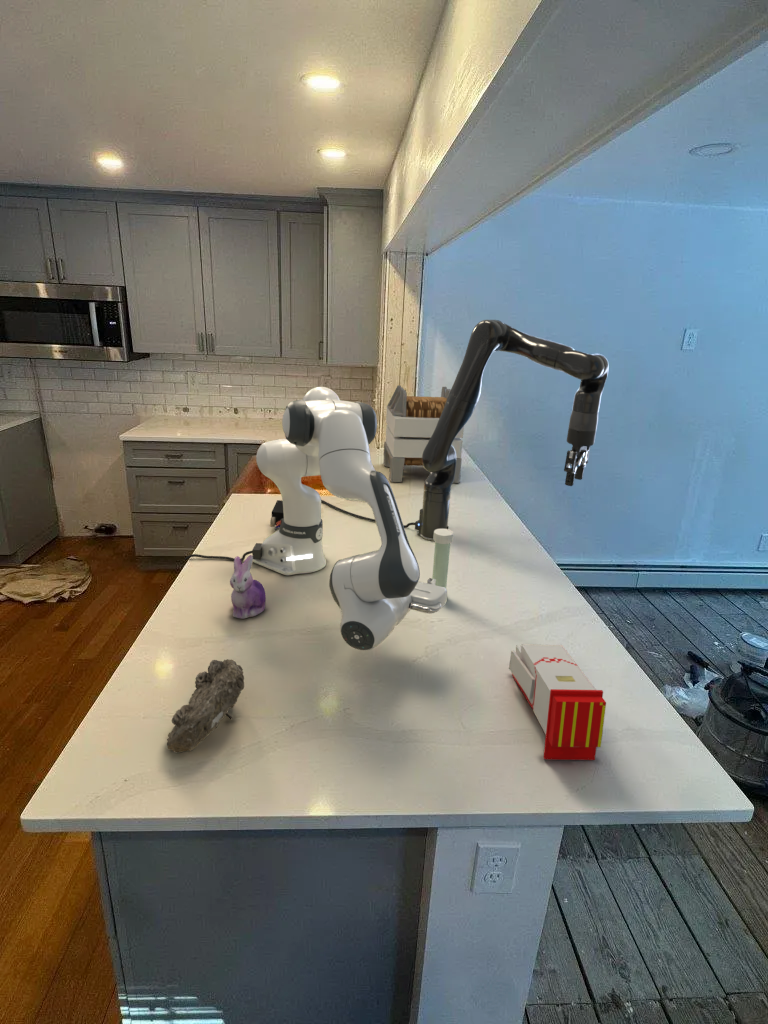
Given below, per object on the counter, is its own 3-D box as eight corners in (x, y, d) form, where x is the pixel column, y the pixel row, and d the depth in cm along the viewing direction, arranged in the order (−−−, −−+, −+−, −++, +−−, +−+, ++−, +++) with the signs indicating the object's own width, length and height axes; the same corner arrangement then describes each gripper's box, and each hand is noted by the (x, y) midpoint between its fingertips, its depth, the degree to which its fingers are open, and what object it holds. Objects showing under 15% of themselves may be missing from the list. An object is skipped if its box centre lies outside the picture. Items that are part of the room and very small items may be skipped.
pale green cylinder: (442, 593, 159) (448, 530, 153) (447, 600, 156) (453, 536, 149) (429, 594, 159) (434, 531, 152) (433, 601, 155) (438, 536, 148)
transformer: (382, 463, 289) (386, 382, 275) (445, 464, 293) (451, 384, 279) (390, 482, 257) (394, 392, 243) (460, 483, 261) (468, 394, 247)
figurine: (235, 623, 139) (232, 568, 134) (225, 604, 148) (222, 552, 143) (272, 616, 143) (271, 562, 138) (261, 598, 152) (259, 546, 147)
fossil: (192, 660, 117) (244, 628, 112) (224, 691, 120) (276, 661, 115) (142, 746, 98) (202, 712, 93) (182, 779, 101) (242, 748, 96)
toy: (558, 627, 126) (616, 698, 97) (552, 682, 129) (607, 767, 99) (504, 626, 126) (545, 697, 96) (499, 681, 128) (538, 766, 99)
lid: (449, 536, 154) (449, 528, 153) (455, 543, 149) (456, 535, 149) (430, 537, 153) (431, 528, 152) (436, 544, 148) (437, 536, 148)
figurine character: (289, 537, 196) (294, 517, 209) (288, 517, 193) (294, 498, 206) (269, 536, 196) (276, 516, 209) (268, 517, 192) (275, 498, 206)
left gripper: (436, 599, 117) (457, 574, 129) (349, 578, 125) (376, 556, 137) (434, 626, 119) (455, 599, 131) (348, 604, 127) (375, 579, 139)
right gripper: (577, 422, 167) (568, 474, 173) (561, 428, 156) (552, 484, 162) (603, 425, 163) (593, 479, 169) (588, 433, 152) (578, 490, 158)
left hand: (414, 577), depth 134 cm, fingers open, 8 cm apart
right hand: (573, 482), depth 165 cm, fingers open, 8 cm apart
